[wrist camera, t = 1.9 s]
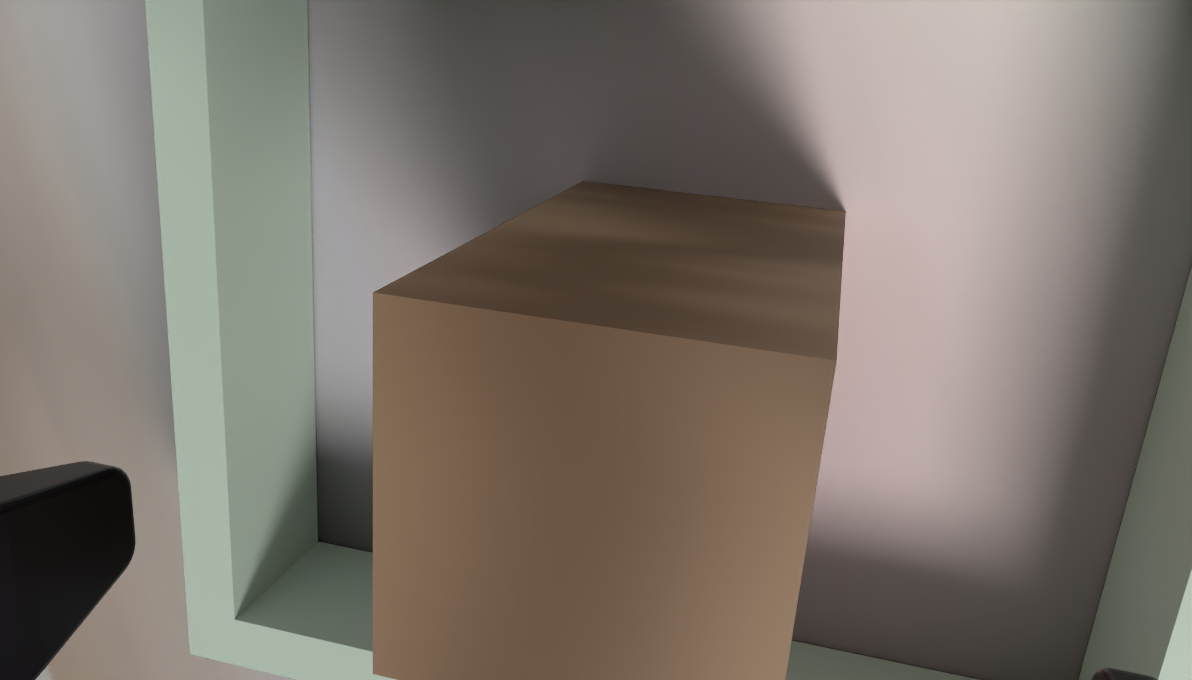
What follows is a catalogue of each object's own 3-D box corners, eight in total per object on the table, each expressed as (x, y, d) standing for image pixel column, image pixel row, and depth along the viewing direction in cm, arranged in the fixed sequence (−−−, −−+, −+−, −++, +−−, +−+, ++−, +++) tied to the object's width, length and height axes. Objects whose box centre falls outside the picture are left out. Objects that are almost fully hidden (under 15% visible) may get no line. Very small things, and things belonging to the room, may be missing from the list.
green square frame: (1369, -81, 13) (1506, -111, 10) (1119, 757, 18) (1169, 892, 15) (252, -133, 17) (133, -167, 14) (276, 572, 21) (190, 653, 18)
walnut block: (845, 211, 16) (836, 360, 9) (806, 458, 17) (771, 769, 10) (583, 181, 17) (372, 292, 10) (566, 418, 18) (373, 674, 11)
